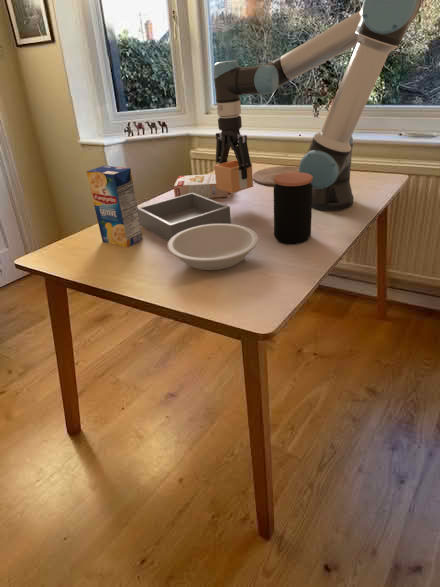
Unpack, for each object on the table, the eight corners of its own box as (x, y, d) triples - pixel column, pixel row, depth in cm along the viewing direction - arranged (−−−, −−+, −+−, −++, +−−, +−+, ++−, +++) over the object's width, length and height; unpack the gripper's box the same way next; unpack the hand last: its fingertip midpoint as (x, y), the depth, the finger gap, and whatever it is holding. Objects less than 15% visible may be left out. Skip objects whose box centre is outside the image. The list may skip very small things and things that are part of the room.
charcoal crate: (231, 224, 140) (229, 206, 137) (172, 244, 130) (170, 225, 126) (194, 208, 156) (192, 192, 153) (139, 225, 145) (136, 208, 142)
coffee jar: (317, 235, 127) (320, 174, 118) (297, 248, 121) (298, 185, 111) (287, 228, 134) (288, 170, 125) (266, 240, 127) (265, 179, 118)
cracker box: (228, 181, 161) (173, 185, 162) (229, 197, 164) (175, 201, 165) (229, 171, 173) (177, 175, 175) (230, 186, 176) (179, 190, 178)
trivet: (244, 176, 190) (244, 171, 189) (296, 167, 195) (296, 163, 194) (266, 191, 169) (266, 186, 168) (323, 181, 174) (324, 176, 174)
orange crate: (253, 186, 148) (251, 163, 144) (232, 193, 143) (230, 168, 139) (237, 182, 154) (235, 159, 150) (216, 188, 150) (214, 165, 146)
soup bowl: (179, 245, 129) (176, 224, 125) (260, 243, 126) (259, 221, 122) (162, 285, 108) (158, 261, 105) (258, 283, 105) (257, 259, 102)
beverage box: (128, 247, 130) (113, 174, 119) (102, 241, 135) (86, 171, 124) (143, 239, 135) (130, 168, 123) (117, 233, 140) (103, 165, 129)
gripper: (200, 116, 143) (207, 183, 155) (241, 120, 128) (245, 194, 139) (218, 112, 147) (224, 178, 158) (260, 116, 131) (263, 188, 142)
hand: (234, 185), depth 148 cm, fingers closed on orange crate, 9 cm apart
